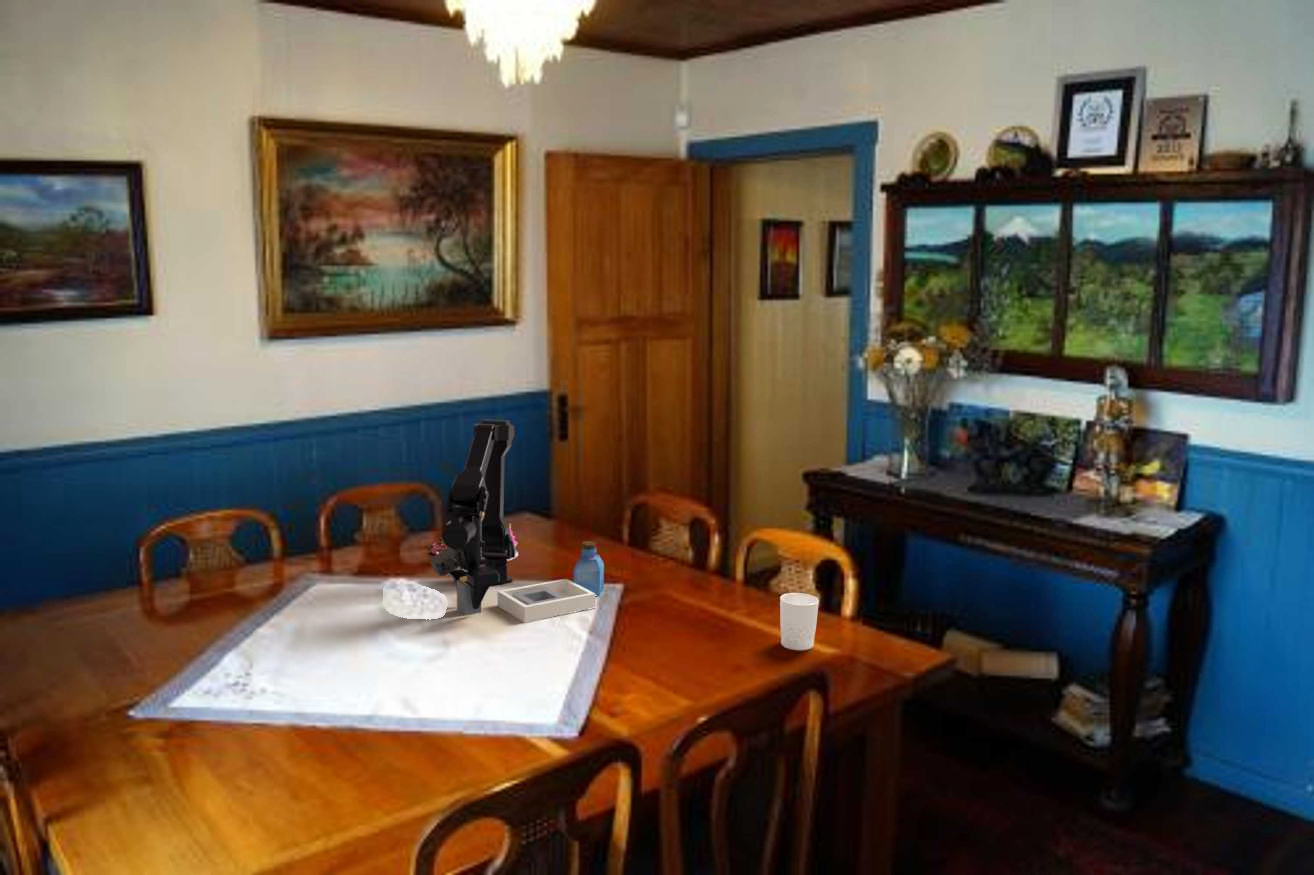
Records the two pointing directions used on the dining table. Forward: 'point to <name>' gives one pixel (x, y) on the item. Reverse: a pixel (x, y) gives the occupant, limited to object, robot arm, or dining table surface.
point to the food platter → (441, 547)
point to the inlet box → (545, 600)
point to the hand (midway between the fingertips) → (469, 604)
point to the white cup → (798, 620)
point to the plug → (465, 598)
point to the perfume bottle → (590, 569)
